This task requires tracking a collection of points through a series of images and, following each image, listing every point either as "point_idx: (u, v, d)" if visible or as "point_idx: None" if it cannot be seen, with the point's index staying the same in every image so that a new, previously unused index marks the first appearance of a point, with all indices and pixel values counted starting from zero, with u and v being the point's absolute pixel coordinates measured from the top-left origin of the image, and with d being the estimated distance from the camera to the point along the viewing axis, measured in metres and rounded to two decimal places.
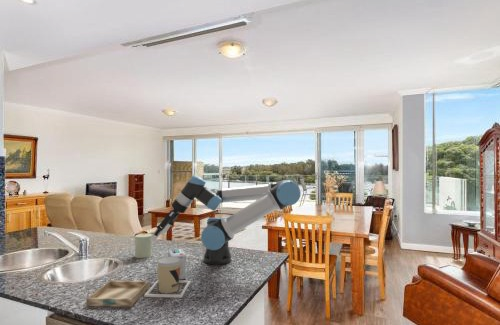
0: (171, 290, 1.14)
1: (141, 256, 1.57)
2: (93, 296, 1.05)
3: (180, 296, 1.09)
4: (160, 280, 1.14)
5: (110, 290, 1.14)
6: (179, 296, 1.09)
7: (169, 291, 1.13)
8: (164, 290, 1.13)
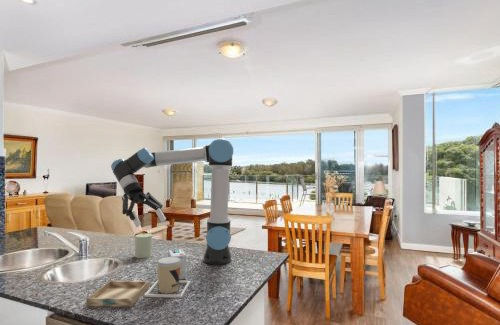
0: (171, 290, 1.14)
1: (141, 256, 1.57)
2: (93, 296, 1.05)
3: (180, 296, 1.09)
4: (160, 280, 1.14)
5: (110, 290, 1.14)
6: (179, 296, 1.09)
7: (169, 291, 1.13)
8: (164, 290, 1.13)
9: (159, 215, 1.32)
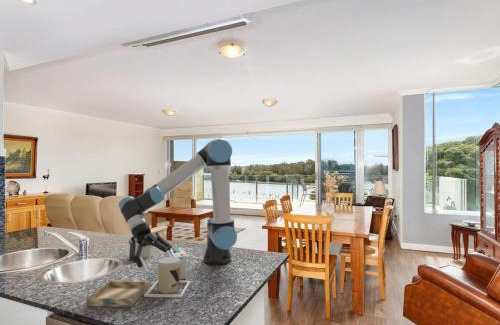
0: (171, 290, 1.14)
1: (141, 256, 1.57)
2: (93, 296, 1.05)
3: (180, 296, 1.09)
4: (160, 280, 1.14)
5: (110, 290, 1.14)
6: (179, 296, 1.09)
7: (169, 291, 1.13)
8: (164, 290, 1.13)
9: None
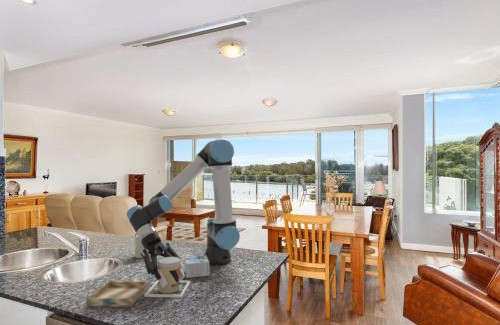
0: (171, 290, 1.13)
1: (141, 256, 1.57)
2: (93, 296, 1.05)
3: (180, 296, 1.09)
4: None
5: (110, 290, 1.14)
6: (179, 296, 1.09)
7: (169, 291, 1.13)
8: (163, 290, 1.13)
9: None
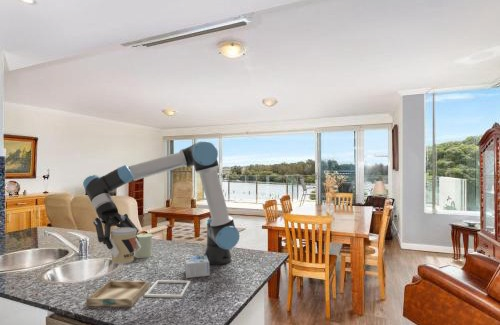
0: (123, 261, 1.07)
1: (141, 256, 1.57)
2: (93, 296, 1.05)
3: (180, 296, 1.09)
4: None
5: (110, 290, 1.14)
6: (179, 296, 1.09)
7: (121, 261, 1.07)
8: (116, 261, 1.07)
9: None
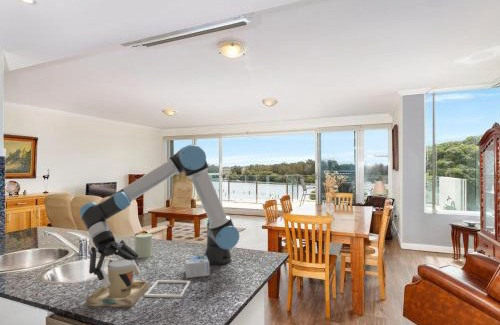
0: (120, 295, 1.07)
1: (141, 256, 1.57)
2: (93, 296, 1.05)
3: (180, 296, 1.09)
4: None
5: None
6: (179, 296, 1.09)
7: (118, 296, 1.07)
8: (113, 295, 1.07)
9: None
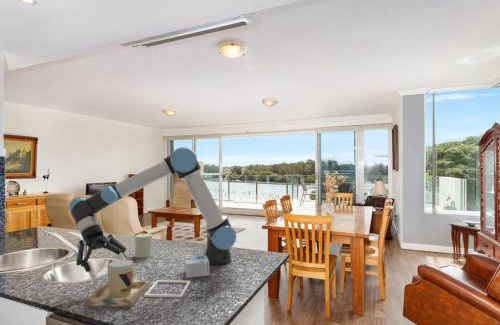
0: (121, 295, 1.07)
1: (141, 256, 1.57)
2: (93, 296, 1.05)
3: (180, 296, 1.09)
4: (109, 284, 1.07)
5: None
6: (179, 296, 1.09)
7: (118, 296, 1.07)
8: (113, 295, 1.07)
9: None
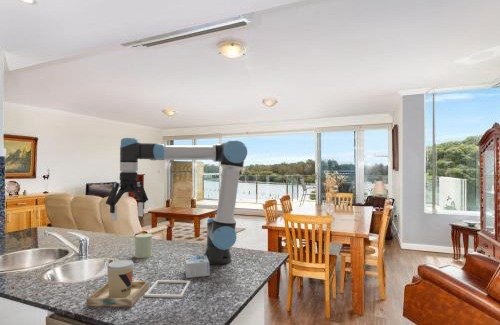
0: (121, 295, 1.07)
1: (141, 256, 1.57)
2: (93, 296, 1.05)
3: (180, 296, 1.09)
4: (109, 285, 1.07)
5: None
6: (179, 296, 1.09)
7: (118, 296, 1.07)
8: (113, 296, 1.07)
9: (139, 209, 1.36)
